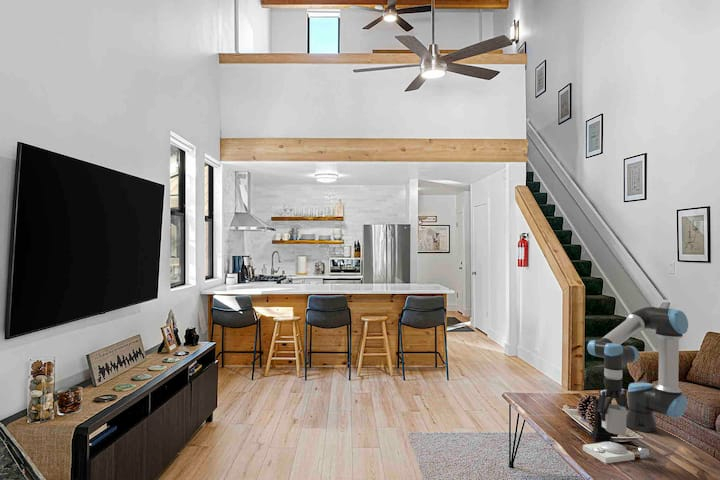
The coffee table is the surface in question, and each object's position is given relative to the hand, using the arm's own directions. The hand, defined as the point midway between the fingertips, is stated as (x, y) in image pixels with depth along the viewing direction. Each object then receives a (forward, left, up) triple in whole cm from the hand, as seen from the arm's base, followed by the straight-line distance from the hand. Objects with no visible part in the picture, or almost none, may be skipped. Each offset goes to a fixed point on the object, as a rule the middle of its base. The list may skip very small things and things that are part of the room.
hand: (612, 426), depth 220 cm
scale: (+2, 0, -13) cm, 13 cm away
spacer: (-12, +6, -13) cm, 18 cm away
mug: (0, 0, -2) cm, 2 cm away
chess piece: (-9, -16, -13) cm, 22 cm away
